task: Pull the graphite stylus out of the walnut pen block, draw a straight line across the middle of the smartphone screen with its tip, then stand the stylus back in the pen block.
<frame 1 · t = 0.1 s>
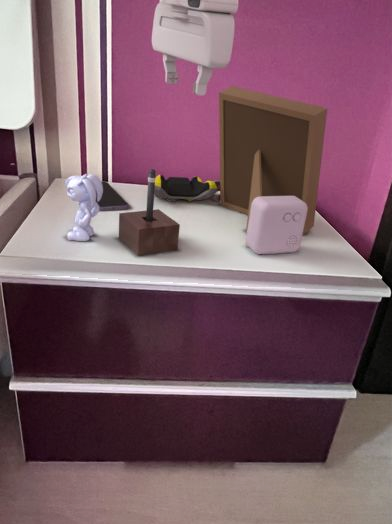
hand: (184, 89, 96), 26 cm above the table, tool pointing down, fingers open, 8 cm apart
stylus: (149, 208, 101), in a hole of the pen block
smartphone: (102, 198, 124), on the table
toy figurine: (82, 237, 105), on the table
pen block: (147, 244, 105), on the table
wristwatch: (228, 195, 131), point 1 cm above the table
photo frame: (251, 223, 120), on the table
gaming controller: (179, 200, 128), on the table
electronic device: (272, 251, 109), on the table
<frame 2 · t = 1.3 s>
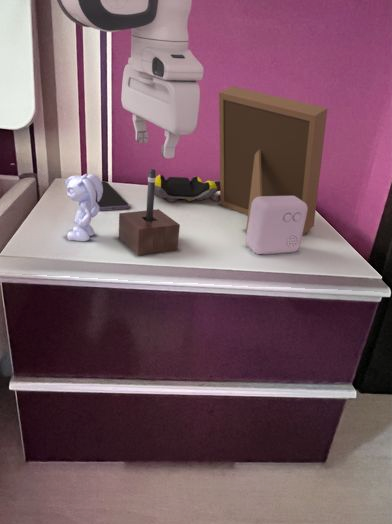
hand: (154, 149, 95), 17 cm above the table, tool pointing down, fingers open, 8 cm apart
nothing on the table moved.
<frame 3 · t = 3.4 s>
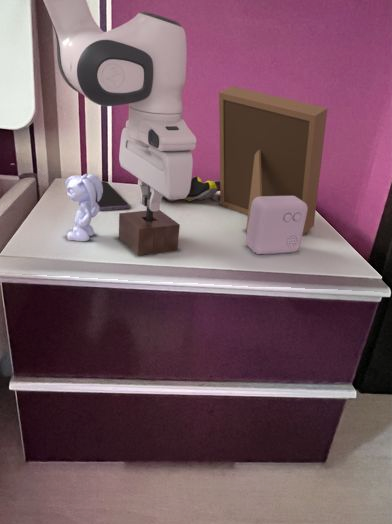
hand: (149, 207, 101), 7 cm above the table, tool pointing down, fingers closed on stylus, 1 cm apart
stylus: (149, 208, 101), in a hole of the pen block, touching gripper
everything else where it was.
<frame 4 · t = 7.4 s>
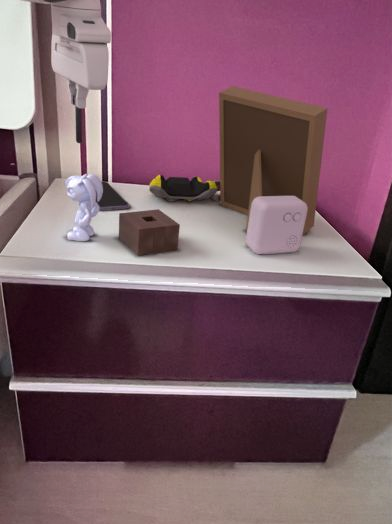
hand: (78, 106, 111), 19 cm above the table, tool pointing down, fingers closed on stylus, 1 cm apart
stylus: (78, 106, 111), point 19 cm above the table, touching gripper
everything else where it was.
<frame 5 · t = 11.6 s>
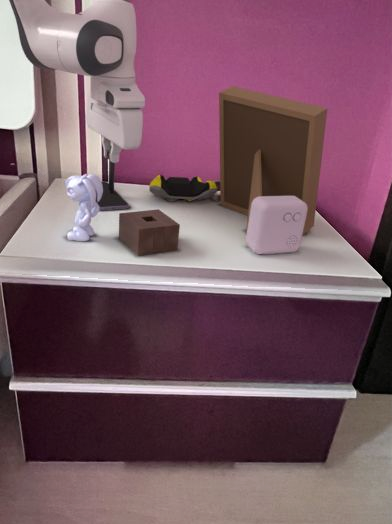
hand: (111, 160, 120), 8 cm above the table, tool pointing down, fingers closed on stylus, 1 cm apart
stylus: (111, 160, 120), point 8 cm above the table, touching gripper
everything else where it was.
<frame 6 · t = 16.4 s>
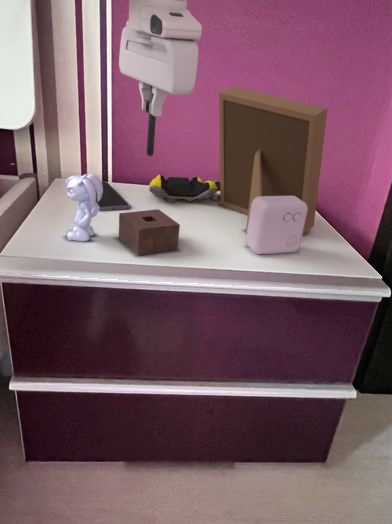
hand: (151, 113, 95), 22 cm above the table, tool pointing down, fingers closed on stylus, 1 cm apart
stylus: (152, 114, 95), point 22 cm above the table, touching gripper
everything else where it was.
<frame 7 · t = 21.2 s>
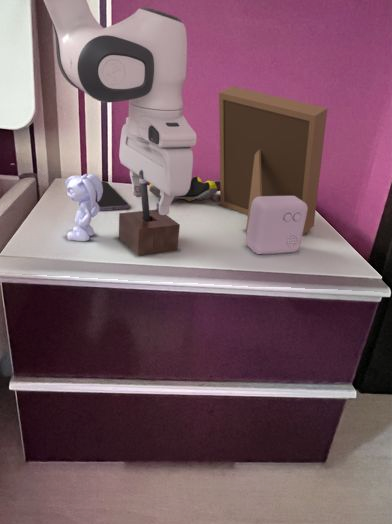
hand: (149, 204, 101), 8 cm above the table, tool pointing down, fingers open, 8 cm apart
stylus: (145, 208, 101), in a hole of the pen block, tilted 8°
everything else where it was.
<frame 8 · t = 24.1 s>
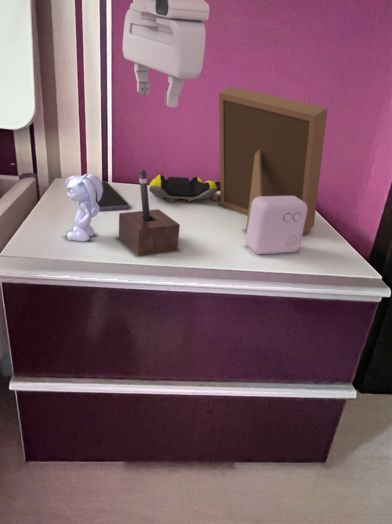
hand: (156, 100, 91), 25 cm above the table, tool pointing down, fingers open, 8 cm apart
nothing on the table moved.
at the end: stylus 0.2 cm off-centre in the pen block, point 6.9 cm above the pen block's base; stylus tilted 8°; smartphone moved 0.2 cm from its start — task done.
